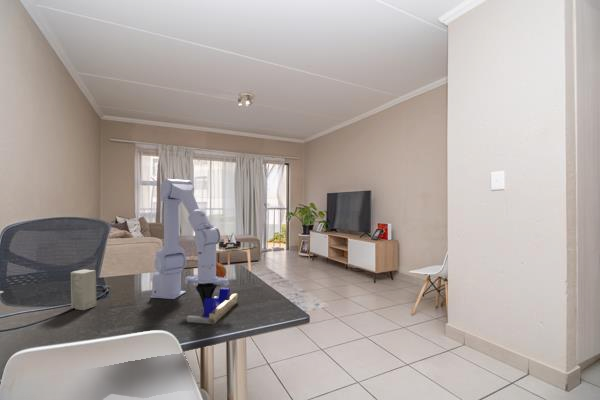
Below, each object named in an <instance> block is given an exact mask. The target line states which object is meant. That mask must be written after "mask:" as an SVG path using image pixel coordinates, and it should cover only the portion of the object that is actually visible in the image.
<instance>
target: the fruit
mask: <svg viewBox="0 0 600 400" xmlns="http://www.w3.org/2000/svg"><path fill="white" fill-rule="evenodd" d="M226 275H227V269H226V267H225V266H224V264H222V263H220V262H216V277H221V278H225V276H226Z"/></svg>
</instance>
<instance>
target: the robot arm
mask: <svg viewBox="0 0 600 400" xmlns="http://www.w3.org/2000/svg"><path fill="white" fill-rule="evenodd" d="M159 191H160V201H161V202H163V246H162V247H161V248H160V249H158V250H157V252H156V253H155V254H156V255H155V260H154V268H155V271H156V272H155V273H154V274H153V277H152V281H151V282H152V288H151V290H152V292H151V296H150V298H153V299H166V300H175V299H177V298H178V297H179V296H182V295H183V294H186V290H182V272H184V269H185V267H186V266H187V256H186V250H185V249H184V248H183V247H181V246H180V245H179V243H180V241H179V240H180V237H179V232H180V231H179V227H180V226H179V225H180V223H179V217H180V216H179V215H180V213H179V206H180V203H182V204H183V206H184V208H185V209H186V211H187V212H188V214H189V215H188V218H187V219H188V222H189V223H190V225H191V228H192V229H193V232H194V233H195V234H194V236H193V239H194V243H195V246H196V248H195V250H196V252H197V275H196V276H195V275H192V276H190V275H188V276H186V277H185V278H184V284H196V285H197V286H196V287H195V290H196V291H197V293H198V294H199V297H200V299H201V303H202V307H203V308H204V299H205V298H213V295H214V292H215V290H216V288H217V287H218V286H223V287H227V286H228V285H230V278H227V277H224V278H221V277H216V263H217V245H218V244H219V243H220V241H221V232H220V229H219V228H218V227H216V226H214V224H213V225H212V223H211V222H210V220H209V218H208V216H207V215H206V212H205V211H204V210H202V209H200V208H199V205H198V203H197V201H196V198H195V196H194V192H195V187H194V183H193V182H192V181H191V180H189V179H186V180H185V179H173V178H172V179H171V178H164V179H163V181H162V182H161V184H160V190H159Z"/></svg>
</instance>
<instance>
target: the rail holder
mask: <svg viewBox="0 0 600 400" xmlns="http://www.w3.org/2000/svg"><path fill="white" fill-rule="evenodd" d="M238 294H239V293H232V294H230V297H229V298H227V299H226V300H225V301H224V302H223V303H221V304H220V305H219V306H218V307H217V308H215V309H214V310H213V311H212V312H211V313H209V317H204V316H201V315H200V316H198V315H187V317H186V322H188V323H196V324H197V323H198V324H205V325H208V324H209V325H215V324H216V323H218V321H219V320H220V319H221V318H222V317H223V316H225V314H226V313H227V312H229V311H230V310H231V309H232V308H233V307H234V306H235V305H236V304H237V303H238V301H239V300H238V296H239V295H238ZM217 296H218V295H217ZM217 296H216V295H215V296H213V298H215V297H217Z"/></svg>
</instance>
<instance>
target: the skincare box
mask: <svg viewBox="0 0 600 400" xmlns="http://www.w3.org/2000/svg"><path fill="white" fill-rule="evenodd" d="M70 300H71V301H70V302H71V303H70V306H71V309H73V308H75V309H74V310H80V311H86V310H88V309H91V308H95V307H97V270H95V269H87V268H86V269H85V268H84V269H79V270H74V271H71V272H70Z"/></svg>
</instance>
